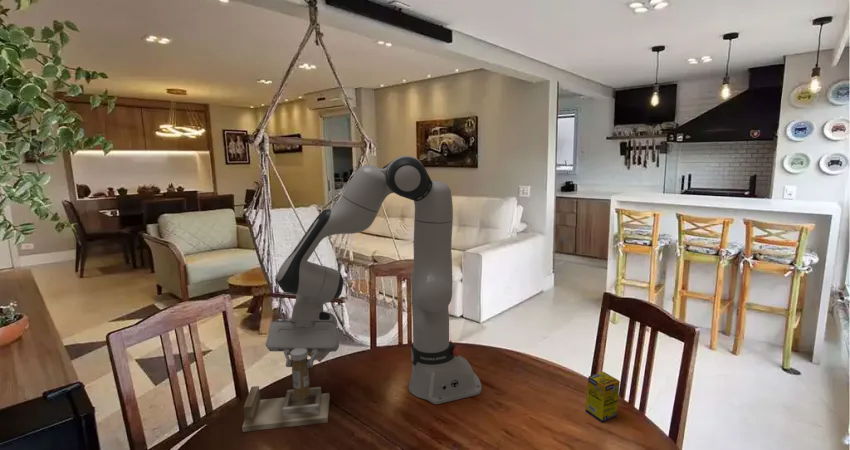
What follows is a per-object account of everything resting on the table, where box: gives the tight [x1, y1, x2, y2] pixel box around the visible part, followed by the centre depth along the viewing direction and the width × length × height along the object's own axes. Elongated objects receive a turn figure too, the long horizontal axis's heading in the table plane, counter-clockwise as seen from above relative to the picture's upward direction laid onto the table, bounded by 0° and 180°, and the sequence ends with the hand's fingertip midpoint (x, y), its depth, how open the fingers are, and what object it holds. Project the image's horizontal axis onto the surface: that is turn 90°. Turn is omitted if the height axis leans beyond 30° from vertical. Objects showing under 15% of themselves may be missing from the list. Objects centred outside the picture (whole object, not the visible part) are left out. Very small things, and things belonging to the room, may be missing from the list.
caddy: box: [241, 385, 331, 433], centre depth 123 cm, size 22×12×6 cm, turn 100°
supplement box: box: [585, 371, 621, 423], centre depth 121 cm, size 6×6×11 cm
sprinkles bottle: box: [289, 348, 310, 399], centre depth 122 cm, size 5×5×13 cm
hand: (299, 366), depth 121 cm, fingers closed on sprinkles bottle, 4 cm apart
